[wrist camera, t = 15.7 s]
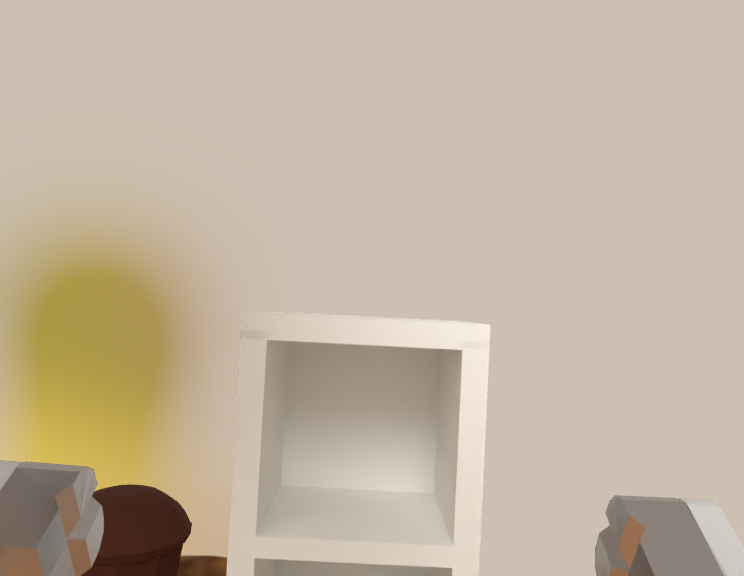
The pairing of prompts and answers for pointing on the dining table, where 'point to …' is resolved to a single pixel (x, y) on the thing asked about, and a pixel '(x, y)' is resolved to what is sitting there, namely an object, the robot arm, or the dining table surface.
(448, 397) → the tall white box
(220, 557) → the dining table surface
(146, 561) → the muffin
